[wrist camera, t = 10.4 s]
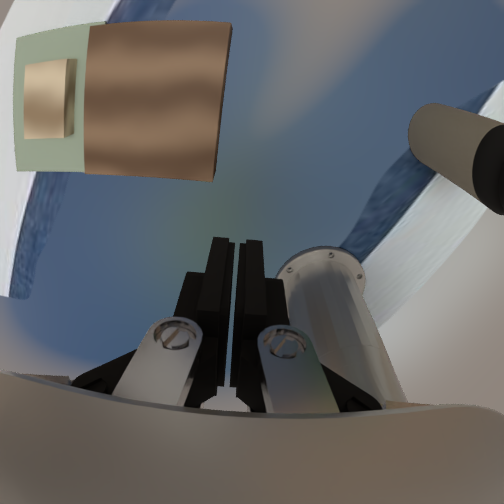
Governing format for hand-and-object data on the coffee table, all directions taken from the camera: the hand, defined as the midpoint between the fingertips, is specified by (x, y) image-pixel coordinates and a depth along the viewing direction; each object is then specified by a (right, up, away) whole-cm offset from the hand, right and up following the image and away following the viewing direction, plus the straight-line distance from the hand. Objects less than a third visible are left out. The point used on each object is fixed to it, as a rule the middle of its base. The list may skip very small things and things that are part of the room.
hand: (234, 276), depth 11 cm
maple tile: (-22, +17, +15) cm, 32 cm away
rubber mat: (-23, +19, +18) cm, 35 cm away
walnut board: (-9, +17, +19) cm, 28 cm away
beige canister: (+23, +15, +21) cm, 35 cm away
